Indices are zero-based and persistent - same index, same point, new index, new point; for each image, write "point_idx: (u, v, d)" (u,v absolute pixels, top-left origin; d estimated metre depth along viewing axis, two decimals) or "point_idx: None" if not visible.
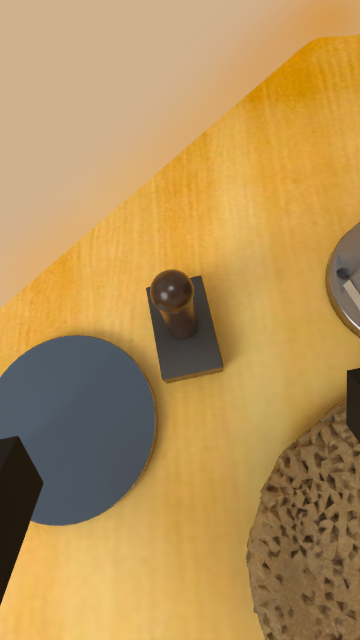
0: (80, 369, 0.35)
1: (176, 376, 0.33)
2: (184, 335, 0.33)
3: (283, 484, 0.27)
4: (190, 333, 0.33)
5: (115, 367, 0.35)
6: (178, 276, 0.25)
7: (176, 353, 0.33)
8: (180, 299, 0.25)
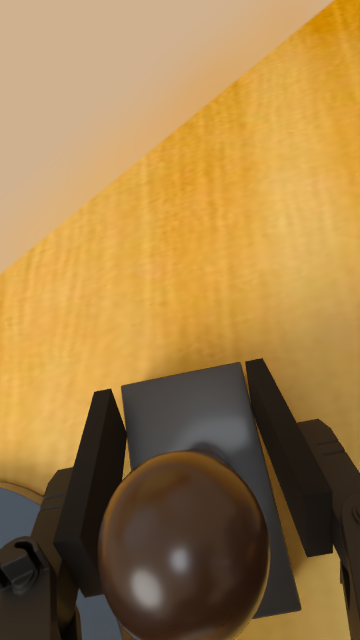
0: None
1: None
2: None
3: None
4: None
5: None
6: (214, 525, 0.06)
7: None
8: (223, 639, 0.05)
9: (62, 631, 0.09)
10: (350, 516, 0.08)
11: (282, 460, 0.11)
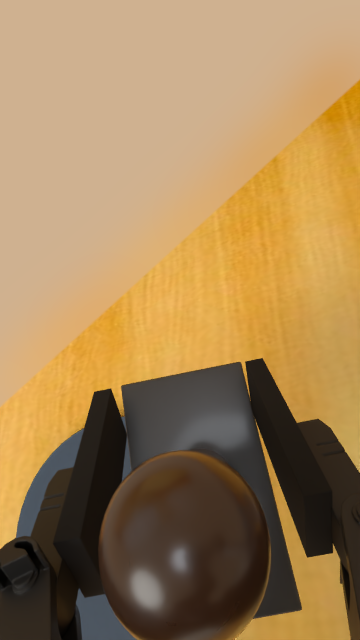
0: None
1: None
2: None
3: None
4: None
5: None
6: (215, 524, 0.06)
7: None
8: (224, 639, 0.05)
9: (62, 631, 0.09)
10: (350, 516, 0.08)
11: (282, 460, 0.11)
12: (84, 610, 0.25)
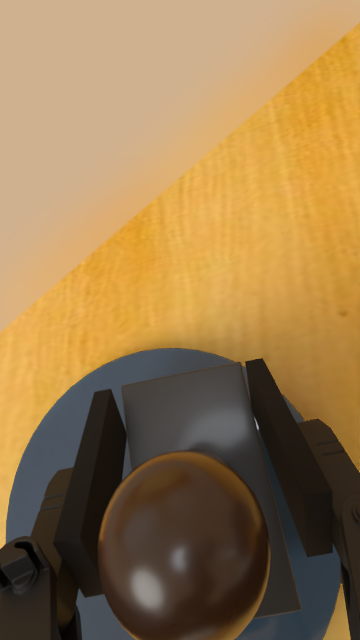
0: None
1: None
2: None
3: None
4: None
5: None
6: (215, 525, 0.06)
7: None
8: None
9: (62, 631, 0.09)
10: (350, 516, 0.08)
11: (282, 460, 0.11)
12: (109, 622, 0.17)
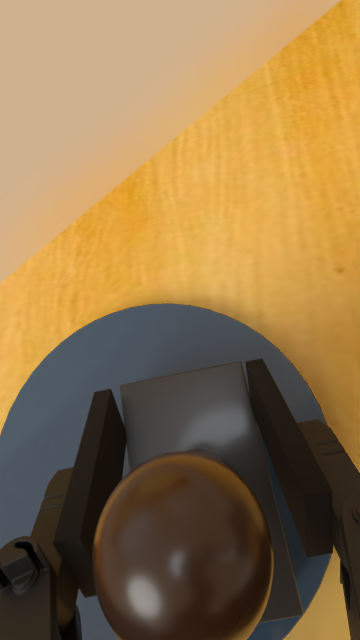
0: (178, 364, 0.19)
1: None
2: None
3: None
4: None
5: (244, 361, 0.19)
6: (215, 530, 0.05)
7: None
8: None
9: (62, 631, 0.09)
10: (350, 516, 0.08)
11: (282, 460, 0.11)
12: None
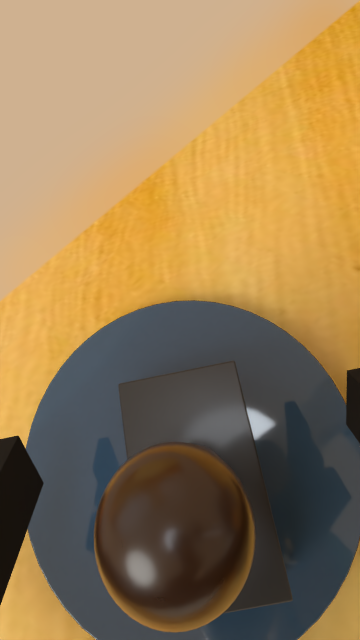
0: (203, 359, 0.20)
1: None
2: None
3: None
4: None
5: (269, 356, 0.19)
6: (202, 508, 0.06)
7: None
8: (210, 613, 0.06)
9: None
10: None
11: None
12: None
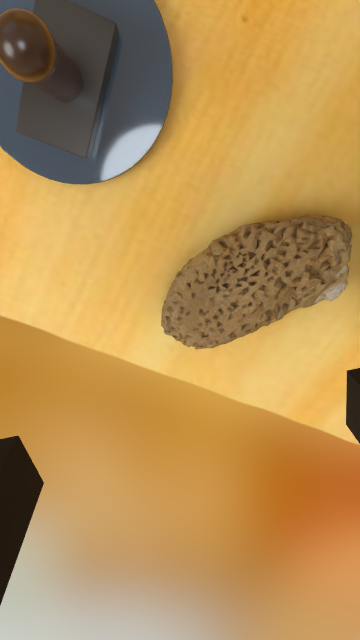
0: (105, 12, 0.28)
1: (32, 137, 0.29)
2: (55, 97, 0.27)
3: (234, 246, 0.33)
4: (63, 99, 0.27)
5: (146, 41, 0.29)
6: (32, 36, 0.18)
7: (42, 111, 0.28)
8: (25, 71, 0.19)
9: None
10: None
11: None
12: (16, 110, 0.30)
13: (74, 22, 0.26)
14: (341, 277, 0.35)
